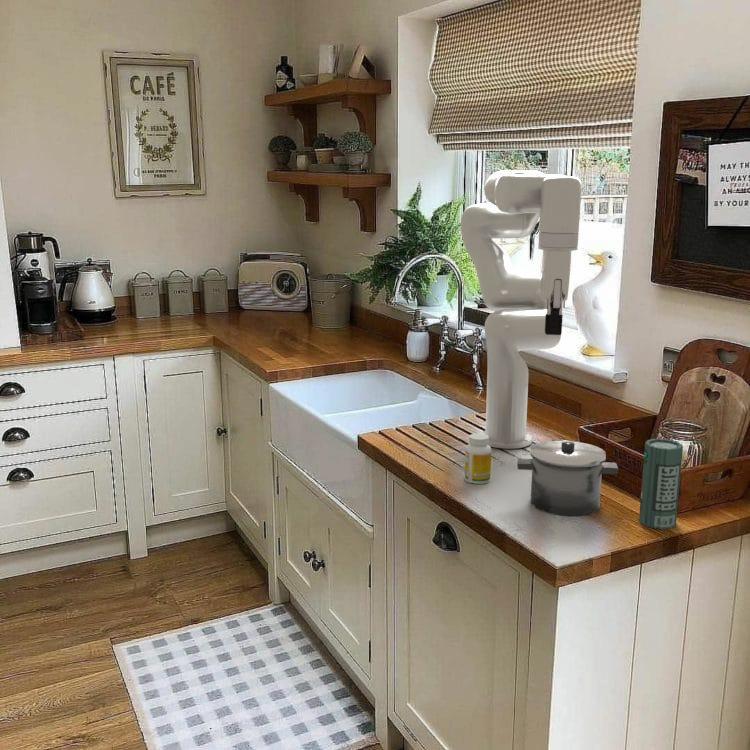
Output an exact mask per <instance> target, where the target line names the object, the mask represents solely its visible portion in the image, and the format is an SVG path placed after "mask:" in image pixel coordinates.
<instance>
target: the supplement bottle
mask: <svg viewBox="0 0 750 750" xmlns="http://www.w3.org/2000/svg"><path fill="white" fill-rule="evenodd" d="M480 433H481V432H480ZM480 433H479V432H478V433H471V434H469V436H468V437H469V438H468V442H469V443H468V444H467V445H466V446H465V453H464V480H465V481H466V482H467V483H469V484H472V483H473V484H474V485H484V484H488V483H489V482H490V480H491V473H492V448H491V446H489V445H487V444H488V443H489V436H488V435H486V434H480Z"/></svg>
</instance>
